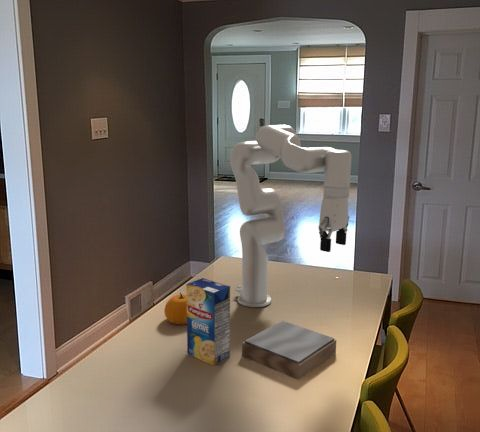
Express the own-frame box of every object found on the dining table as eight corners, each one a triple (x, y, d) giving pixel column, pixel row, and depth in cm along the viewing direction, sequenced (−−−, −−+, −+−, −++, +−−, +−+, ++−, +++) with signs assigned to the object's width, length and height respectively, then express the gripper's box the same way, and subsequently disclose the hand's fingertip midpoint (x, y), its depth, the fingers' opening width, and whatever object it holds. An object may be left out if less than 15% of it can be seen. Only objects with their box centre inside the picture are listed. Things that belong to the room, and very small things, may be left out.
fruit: (165, 329, 170) (165, 300, 168) (163, 315, 181) (162, 288, 179) (201, 326, 172) (200, 298, 170) (196, 312, 183) (196, 286, 181)
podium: (242, 356, 152) (242, 340, 151) (281, 334, 167) (281, 319, 166) (298, 379, 140) (299, 363, 138) (335, 353, 155) (336, 338, 153)
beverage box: (214, 365, 147) (214, 293, 142) (187, 353, 153) (186, 283, 149) (230, 356, 152) (230, 286, 147) (202, 345, 159) (202, 277, 154)
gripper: (338, 186, 161) (335, 239, 165) (310, 194, 148) (307, 251, 152) (360, 189, 157) (357, 243, 160) (333, 197, 143) (330, 256, 147)
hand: (333, 247), depth 156 cm, fingers open, 9 cm apart
